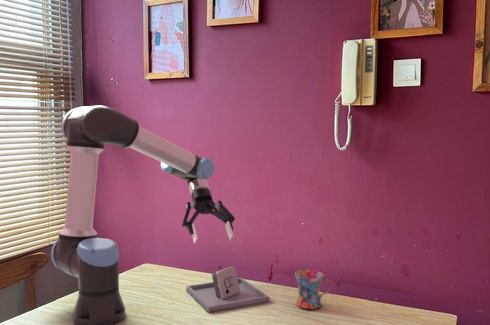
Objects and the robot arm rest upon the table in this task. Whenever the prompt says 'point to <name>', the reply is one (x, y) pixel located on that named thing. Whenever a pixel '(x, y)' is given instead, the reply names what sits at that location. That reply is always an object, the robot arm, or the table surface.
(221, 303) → the grey square tray
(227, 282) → the electrical switch
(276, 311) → the table surface
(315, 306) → the mug
